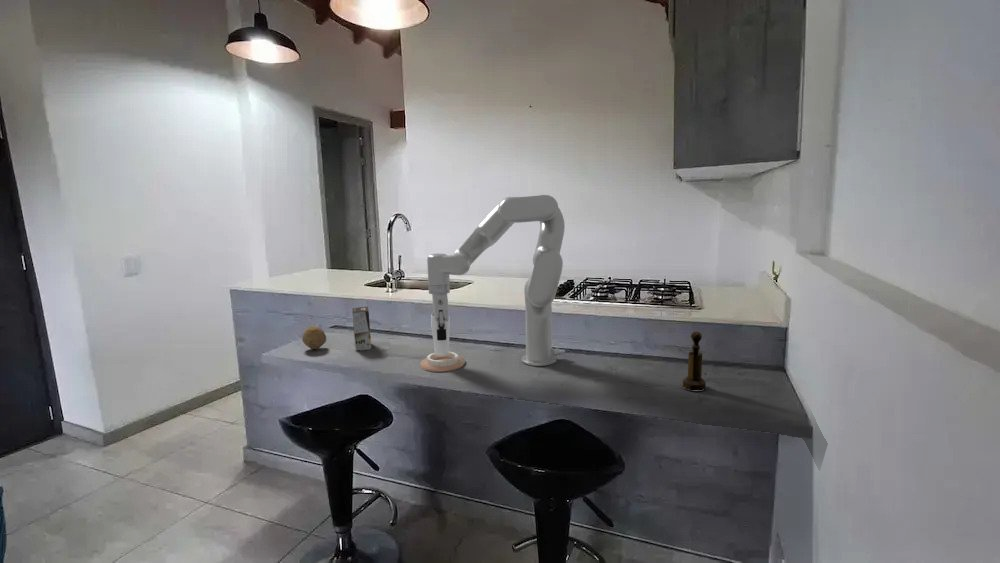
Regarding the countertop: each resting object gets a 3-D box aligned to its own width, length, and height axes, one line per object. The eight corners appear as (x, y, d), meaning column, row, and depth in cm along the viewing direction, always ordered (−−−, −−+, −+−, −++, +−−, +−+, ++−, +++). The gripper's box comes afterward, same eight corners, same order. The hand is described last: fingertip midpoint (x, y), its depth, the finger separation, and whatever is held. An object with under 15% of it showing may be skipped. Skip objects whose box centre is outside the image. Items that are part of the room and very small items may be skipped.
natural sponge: (297, 351, 195) (295, 327, 194) (314, 345, 203) (311, 322, 202) (315, 353, 192) (312, 329, 190) (330, 347, 200) (328, 324, 198)
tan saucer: (462, 355, 185) (462, 347, 185) (466, 369, 170) (466, 361, 169) (420, 358, 183) (419, 351, 182) (421, 373, 167) (420, 365, 167)
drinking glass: (447, 357, 172) (446, 316, 169) (429, 356, 173) (427, 316, 170) (453, 351, 178) (451, 312, 176) (436, 351, 179) (434, 311, 177)
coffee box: (371, 349, 196) (368, 310, 193) (355, 351, 194) (352, 312, 191) (370, 343, 204) (368, 306, 202) (355, 344, 203) (352, 307, 200)
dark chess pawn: (687, 382, 154) (689, 327, 150) (708, 386, 150) (711, 330, 146) (679, 389, 149) (682, 332, 145) (701, 394, 145) (704, 336, 141)
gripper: (451, 292, 164) (453, 343, 167) (448, 283, 180) (449, 330, 183) (429, 293, 162) (431, 345, 165) (427, 284, 179) (430, 331, 182)
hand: (441, 336), depth 174 cm, fingers closed on drinking glass, 6 cm apart
